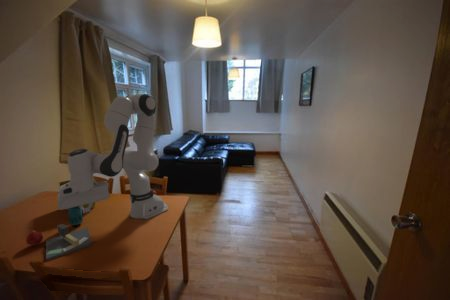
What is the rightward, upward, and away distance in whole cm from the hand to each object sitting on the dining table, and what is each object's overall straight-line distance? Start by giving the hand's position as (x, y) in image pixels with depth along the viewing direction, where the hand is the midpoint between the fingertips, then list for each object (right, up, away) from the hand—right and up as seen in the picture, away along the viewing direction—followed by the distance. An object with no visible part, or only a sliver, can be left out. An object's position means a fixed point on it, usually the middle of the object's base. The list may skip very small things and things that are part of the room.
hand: (86, 212), depth 101 cm
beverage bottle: (-17, -12, +18) cm, 28 cm away
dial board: (-10, -16, +2) cm, 19 cm away
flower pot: (-28, -8, +37) cm, 47 cm away
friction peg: (-10, -15, +2) cm, 18 cm away
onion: (-25, -16, +1) cm, 30 cm away
